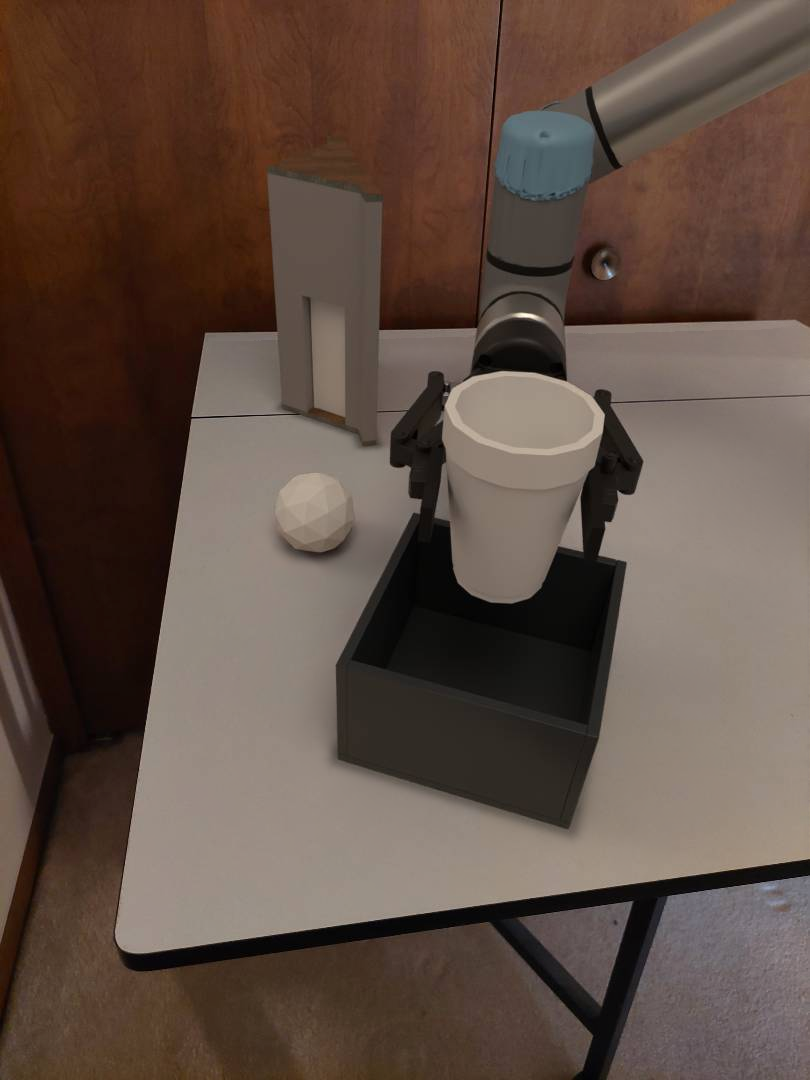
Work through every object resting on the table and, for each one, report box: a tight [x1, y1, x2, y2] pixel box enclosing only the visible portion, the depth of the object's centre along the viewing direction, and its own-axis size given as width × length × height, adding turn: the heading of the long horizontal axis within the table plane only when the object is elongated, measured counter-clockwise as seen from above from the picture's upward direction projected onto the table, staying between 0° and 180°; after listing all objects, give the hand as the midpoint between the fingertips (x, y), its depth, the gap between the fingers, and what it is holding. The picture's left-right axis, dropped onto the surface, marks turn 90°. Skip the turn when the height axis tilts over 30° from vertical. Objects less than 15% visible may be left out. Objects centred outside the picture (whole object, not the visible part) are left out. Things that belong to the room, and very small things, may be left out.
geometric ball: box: [273, 472, 356, 553], centre depth 77 cm, size 8×8×8 cm
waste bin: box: [335, 512, 628, 830], centre depth 62 cm, size 18×18×11 cm
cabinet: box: [266, 135, 383, 447], centre depth 91 cm, size 21×10×28 cm, turn 14°
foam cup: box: [442, 371, 605, 603], centre depth 52 cm, size 10×9×13 cm
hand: (509, 535), depth 48 cm, fingers closed on foam cup, 9 cm apart
